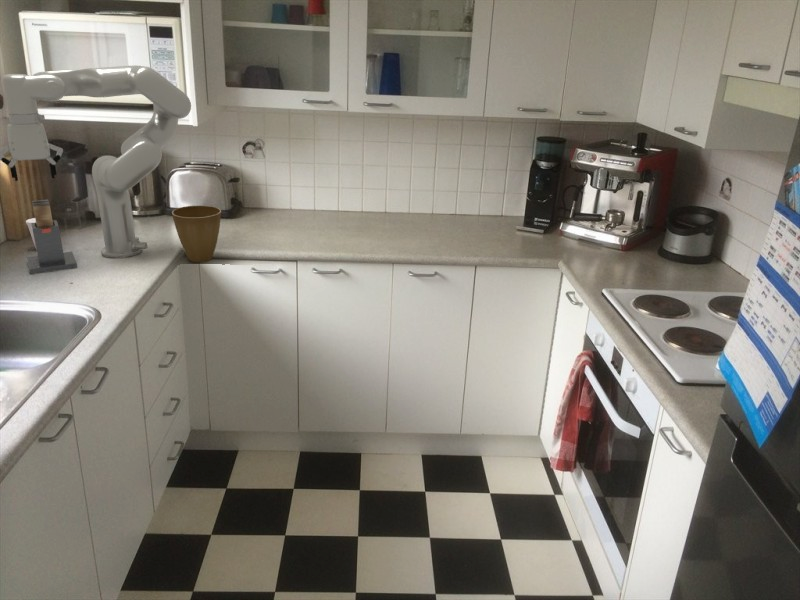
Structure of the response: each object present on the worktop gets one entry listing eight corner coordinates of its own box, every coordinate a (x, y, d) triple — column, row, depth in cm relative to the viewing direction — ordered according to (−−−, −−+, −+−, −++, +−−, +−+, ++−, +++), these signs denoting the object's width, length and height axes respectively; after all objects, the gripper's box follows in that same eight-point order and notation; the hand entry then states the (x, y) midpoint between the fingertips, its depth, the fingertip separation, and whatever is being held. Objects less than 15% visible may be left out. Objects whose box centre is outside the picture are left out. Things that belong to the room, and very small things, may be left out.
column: (58, 256, 207) (48, 199, 200) (60, 260, 204) (49, 202, 197) (42, 258, 205) (31, 200, 198) (43, 262, 202) (32, 204, 195)
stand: (73, 255, 213) (66, 216, 208) (77, 267, 203) (70, 227, 198) (27, 261, 207) (19, 221, 202) (30, 274, 197) (21, 232, 192)
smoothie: (43, 251, 217) (35, 210, 211) (26, 250, 218) (18, 208, 212) (56, 246, 222) (49, 205, 217) (40, 244, 224) (32, 204, 218)
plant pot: (171, 265, 207) (165, 216, 201) (185, 251, 220) (180, 204, 214) (218, 266, 207) (214, 217, 201) (229, 252, 221) (225, 205, 214)
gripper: (56, 117, 195) (66, 174, 202) (-11, 119, 187) (1, 178, 194) (59, 120, 190) (68, 179, 196) (-11, 122, 181) (1, 183, 188)
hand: (35, 178), depth 195 cm, fingers open, 9 cm apart
